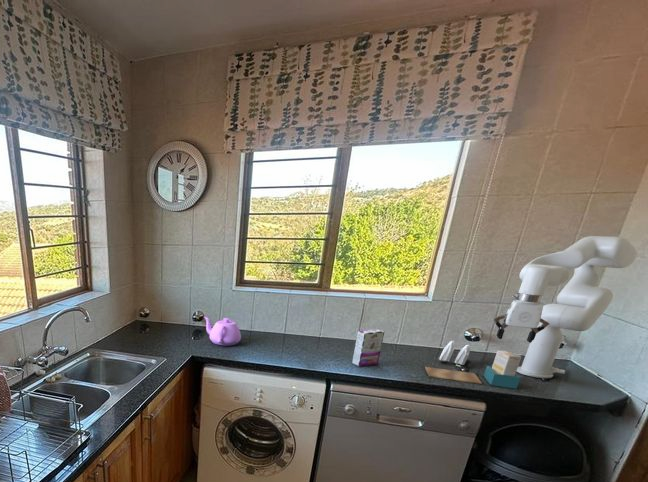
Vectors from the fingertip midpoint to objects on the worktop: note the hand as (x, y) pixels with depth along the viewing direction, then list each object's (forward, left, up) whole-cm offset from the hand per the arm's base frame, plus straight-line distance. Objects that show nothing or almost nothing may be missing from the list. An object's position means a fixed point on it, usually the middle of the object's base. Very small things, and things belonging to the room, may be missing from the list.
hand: (513, 340), depth 165 cm
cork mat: (+17, 0, -19) cm, 25 cm away
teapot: (+124, -2, -19) cm, 125 cm away
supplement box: (0, 0, -19) cm, 19 cm away
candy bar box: (+52, +1, -19) cm, 55 cm away
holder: (0, 0, -19) cm, 19 cm away
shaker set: (+14, -20, -19) cm, 31 cm away
